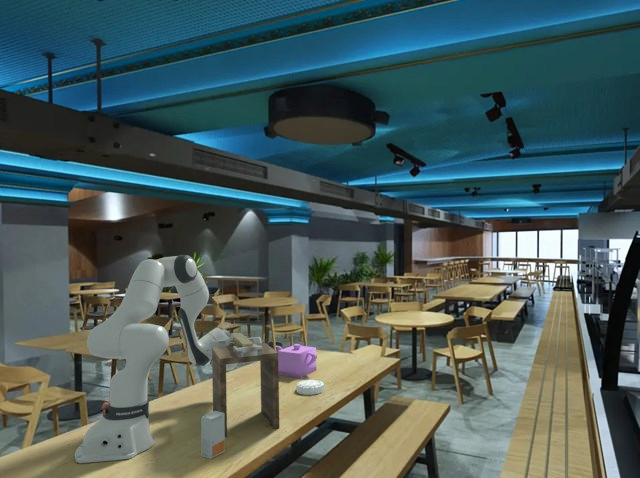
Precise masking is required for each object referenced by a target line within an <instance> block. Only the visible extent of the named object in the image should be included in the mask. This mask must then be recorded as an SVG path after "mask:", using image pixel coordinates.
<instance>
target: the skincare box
mask: <svg viewBox="0 0 640 478" xmlns="http://www.w3.org/2000/svg"><path fill="white" fill-rule="evenodd" d="M200 417H201V418H200V420H201V421H200V424H201V425H200V427H201V428H200V429H201V430H200V431H201V433H200V434H201V436H200V437H201V440H200V441H201V442H200V444H201V445H200V446H201V447H200V448H201V449H200V450H201V452H200V453H201V457H204V458H207V459H210V460H212V459H213V458H215V457H217V456H219V455H221V454H223V453H225V451H226V447H225V444H226V442H225V441H226V437H225V413H222V412H218V411H214V412H213V411H211V412H208V413H207V414H205V415H203V416H200Z"/></svg>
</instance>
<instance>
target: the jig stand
mask: <svg viewBox="0 0 640 478" xmlns="http://www.w3.org/2000/svg"><path fill="white" fill-rule="evenodd" d="M277 351H278V350H277ZM277 351H276V350H275V349H274V348H273V347H271V346H270V345H268V344H267V343H266V342H262V343H259V344H253V347H243V348H239V347H238V346H228V347H217V348H212V359H211V364H212V365H211V369H212V373H211V374H212V377H211V378H212V412H214V411H218V412H222V413H225V438H228V418H227V417H228V416H227V415H228V414H227V412H228V410H227V409H228V408H227V401H228V400H227V370H226V364H233V363H238V364H240V363H248V362H249V363H251V362H258V361H260V412H261V414H262V415H263V417H264V418H265V419H266V421H267V422H268V424H269V425H270V426H271V427H272V429H273V430H277V429H280V387H279V385H280V383H279V378H280V377H279V371H278V352H277Z"/></svg>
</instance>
